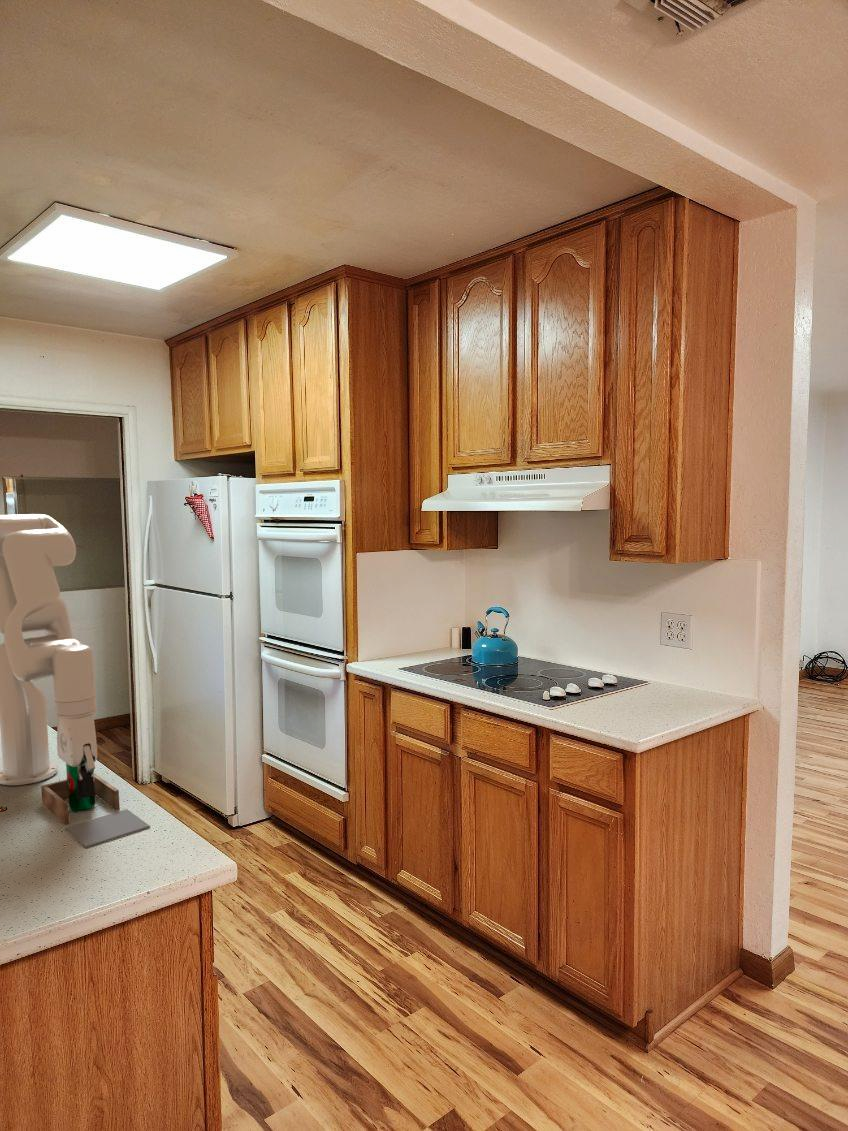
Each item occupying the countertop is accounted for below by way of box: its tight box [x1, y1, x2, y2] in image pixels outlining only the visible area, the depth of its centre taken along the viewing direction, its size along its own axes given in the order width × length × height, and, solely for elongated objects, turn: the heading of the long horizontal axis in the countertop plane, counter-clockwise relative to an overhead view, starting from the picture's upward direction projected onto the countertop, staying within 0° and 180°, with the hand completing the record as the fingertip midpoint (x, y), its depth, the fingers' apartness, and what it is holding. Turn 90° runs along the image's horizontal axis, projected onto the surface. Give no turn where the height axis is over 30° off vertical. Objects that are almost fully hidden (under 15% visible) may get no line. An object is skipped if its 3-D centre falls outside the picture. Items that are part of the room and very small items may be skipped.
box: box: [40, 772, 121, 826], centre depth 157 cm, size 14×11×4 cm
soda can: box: [65, 756, 96, 813], centre depth 156 cm, size 5×5×12 cm
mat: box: [64, 808, 151, 849], centre depth 146 cm, size 11×12×1 cm
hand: (81, 792), depth 156 cm, fingers closed on soda can, 4 cm apart
